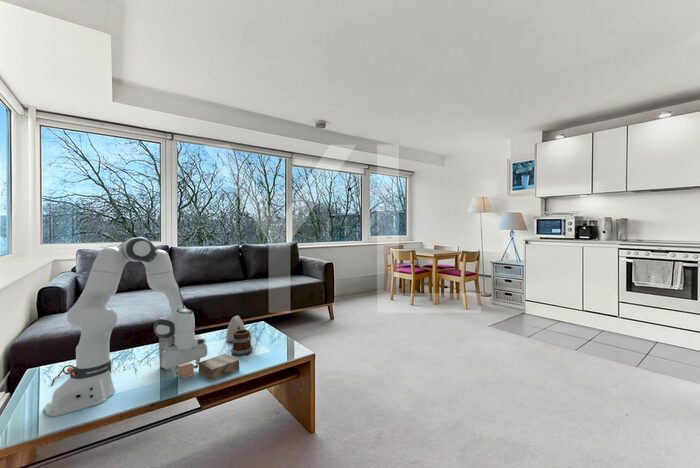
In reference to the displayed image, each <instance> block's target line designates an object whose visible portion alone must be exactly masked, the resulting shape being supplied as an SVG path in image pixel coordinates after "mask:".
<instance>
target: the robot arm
mask: <svg viewBox="0 0 700 468" xmlns="http://www.w3.org/2000/svg"><path fill="white" fill-rule="evenodd" d="M129 262H141V263H142V264H143V265H144V268H145V273H146V282H147V284H148V287H149V288H150V289H152V290H153V291H154V292H155V291H156V292H158V293H161V294H164V295H165V296H166V298H167V300H168V304H169V308H170V314H167V315H165V316H163V317H161V318H159V319H157V320H156V321H155V322H154V325H153V332H154V334H155V335H156V336H157V337H158V338H159V337H161V338H165V337H170V336H174V337H175V346H173V347H170V348H166V349H165V350H164V351H163V352H162V367H163V369H165V370H171V371H172V372H173V373H172V375H173V376H178V369H176V367H178V365H181V364H184V363H187V362H190V363H191V362H193V361H195V363H194V364H193V363H192V364H193V366H194V369H199V362H201V359H202V358H205V357H207V356H208V345H207V344H206V341H207V339H206V338H204V337H202V336H199V335H198V336H196V333H195V328H196V325H195V324H196V323H195V322H196V321H195V315H194V311H192V309H189V308H185V304H184V300H183V296H182V293H181V289H180V286H179V283H178V282H177V281H176V279H175V275H174V270H173V264H172V261H171V258H170V255H169V253H168V252H167V251H166V250H162V249H158V248H157V247H156V246H155V245H154V244H153V243H152V241H150V239H147V238H146V237H142V236H141V237H140V236H138V237H137V236H136V237H131V238H128V239H127V240H126V239H125V240H124V241H123V242H122V243H121V244H120V245H118V246H117V247H112V246H111V247H110V246H109V247H103V248H102V249H101V250H100V251H99V252H98V254H97V256H96V258H95V260H94V261H93V263H92V266H91V269H90V271H89V274H88V278H87V280H86V283H85V286H84V288H83V290H82V293H81V294H80V296H79V297H78V299H77V300H76V302H75V303H74V305H73V306H72V307H71V308H69V310H68V312H67V314H66V319H67V322H68V323H69V325H70V326H72V327H73V328H74V329H78V330H80V339H79V342H78V344H77V345H76V347H75V361H76V362H75V364H76V366H74V368H72V367H67V369H66V373H70V374H69V378H68V379H66V380H65V381H64V382H63V383H62V384H61V385H59V386H58V387H57V388H56V389H55V390H54V392H53V394H52V397H51V401H49V402H47V403H46V404H45V406H44V413H45V415H47V416H49V417H58V416H62V415H65V414H69V413H73V412H75V411H76V412H77V411H79V410H82V409H86V408H90V407H92V406H96V405H99V404H103V403H104V402H105V401H106V400H107V399H108V398H110V397H111V396H113V395H114V394H115V393H116V388H115V386H114V383H113V380H112V379H113V378H112V360H111V358H110V342H111V341H110V339H111V335H112V332H113V329H114V327H116V325H117V323H118V314H117V313H116V312H115V311H114V310H113V309H112V308H110V307H109V306H107V304H108V303H109V301H110V299H111V298H112V296H114V295H115V294H116V293H117V290H118V287H119V284H120V281H121V278H122V274H123V271H124V268H125V266H126V264H127V263H129Z"/></svg>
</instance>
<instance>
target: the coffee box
mask: <svg viewBox="0 0 700 468" xmlns="http://www.w3.org/2000/svg"><path fill="white" fill-rule="evenodd" d="M173 346H175V337H174V336H170V337H165V338H161V337H158V352H159V353H158V355H159V368H163V367H162V352H163V351H164V350H165V349H166V348H170V347H173ZM163 369H164V368H163Z"/></svg>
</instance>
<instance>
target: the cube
mask: <svg viewBox="0 0 700 468" xmlns="http://www.w3.org/2000/svg"><path fill="white" fill-rule="evenodd" d="M194 369H195V368H194V366H193V363H191V361H190V362H187V363H184V364H181V365H178V366H177V371H178V375H177V376H179V377H180V378H181V379H185V378H189V377H191V376H193V375H195V370H194Z"/></svg>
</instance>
